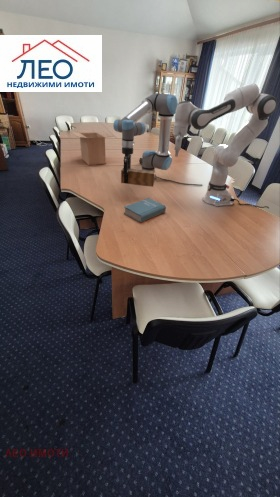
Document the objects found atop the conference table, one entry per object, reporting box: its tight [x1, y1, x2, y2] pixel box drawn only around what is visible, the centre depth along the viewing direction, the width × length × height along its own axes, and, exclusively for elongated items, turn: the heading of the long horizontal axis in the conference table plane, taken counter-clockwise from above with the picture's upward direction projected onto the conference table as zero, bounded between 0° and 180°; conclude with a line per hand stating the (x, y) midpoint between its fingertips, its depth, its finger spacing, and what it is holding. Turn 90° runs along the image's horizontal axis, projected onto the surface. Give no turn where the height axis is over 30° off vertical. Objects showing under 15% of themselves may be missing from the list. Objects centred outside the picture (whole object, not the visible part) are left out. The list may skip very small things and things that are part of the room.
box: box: [70, 129, 114, 166], centre depth 229 cm, size 44×36×27 cm
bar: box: [120, 167, 156, 188], centre depth 156 cm, size 23×5×9 cm, turn 81°
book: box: [123, 197, 167, 223], centre depth 146 cm, size 23×16×5 cm
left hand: (126, 181), depth 159 cm, fingers closed on bar, 5 cm apart
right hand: (176, 154), depth 147 cm, fingers open, 8 cm apart
